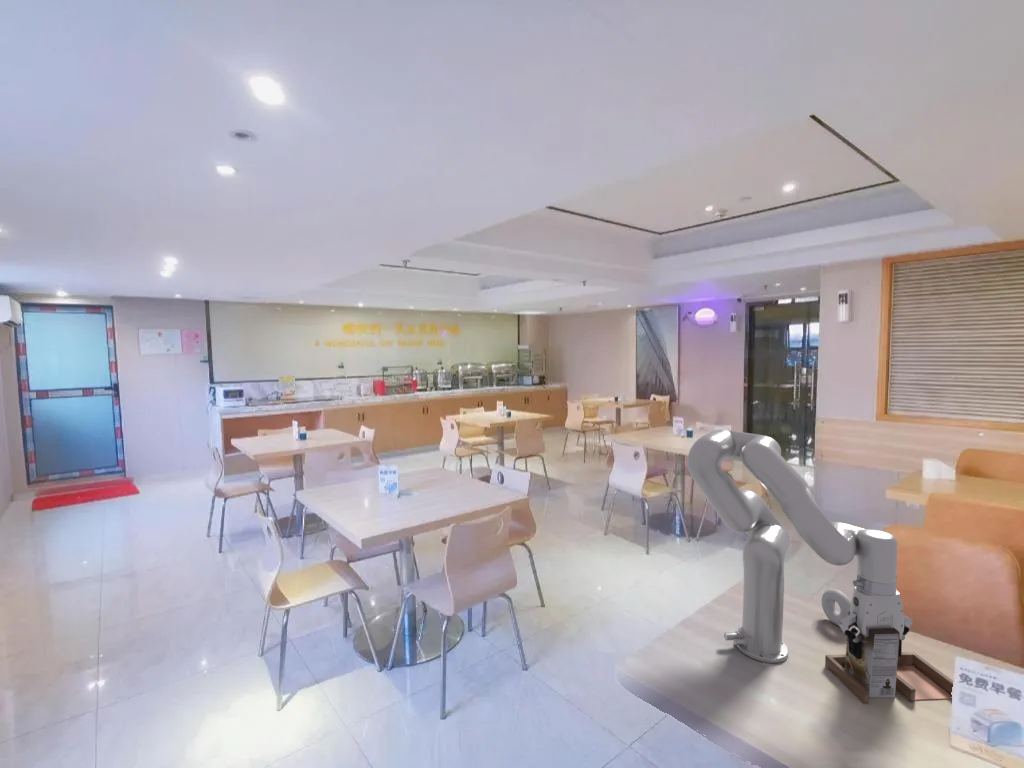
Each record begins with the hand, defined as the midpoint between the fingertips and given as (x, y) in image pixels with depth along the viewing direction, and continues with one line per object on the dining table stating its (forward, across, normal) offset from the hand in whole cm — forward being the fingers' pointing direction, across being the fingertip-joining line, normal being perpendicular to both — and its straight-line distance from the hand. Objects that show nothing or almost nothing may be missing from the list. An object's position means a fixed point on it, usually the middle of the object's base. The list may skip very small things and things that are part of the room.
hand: (874, 654), depth 117 cm
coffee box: (+8, -1, +1) cm, 8 cm away
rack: (+8, +5, +1) cm, 9 cm away
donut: (+8, +9, +26) cm, 28 cm away
